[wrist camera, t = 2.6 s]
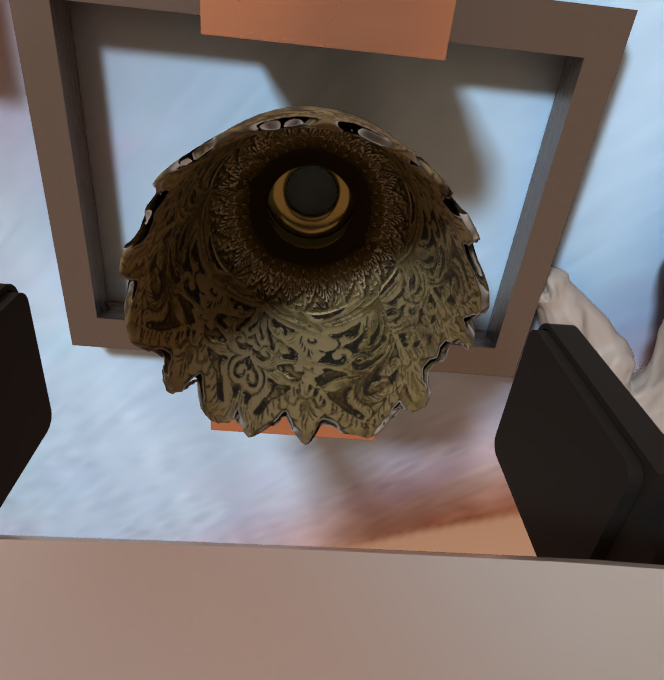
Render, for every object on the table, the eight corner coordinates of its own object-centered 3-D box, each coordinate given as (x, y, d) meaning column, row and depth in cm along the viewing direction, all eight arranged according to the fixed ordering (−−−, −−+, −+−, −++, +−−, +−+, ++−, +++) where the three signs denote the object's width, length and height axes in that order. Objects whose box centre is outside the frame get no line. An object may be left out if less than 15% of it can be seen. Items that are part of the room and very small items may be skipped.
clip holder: (618, 4, 15) (730, 12, 11) (503, 360, 22) (546, 451, 18) (19, -67, 14) (-109, -87, 10) (85, 329, 21) (24, 417, 17)
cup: (342, 326, 21) (350, 490, 14) (158, 224, 19) (65, 361, 12) (473, 155, 17) (568, 264, 11) (269, 6, 15) (227, 24, 8)
